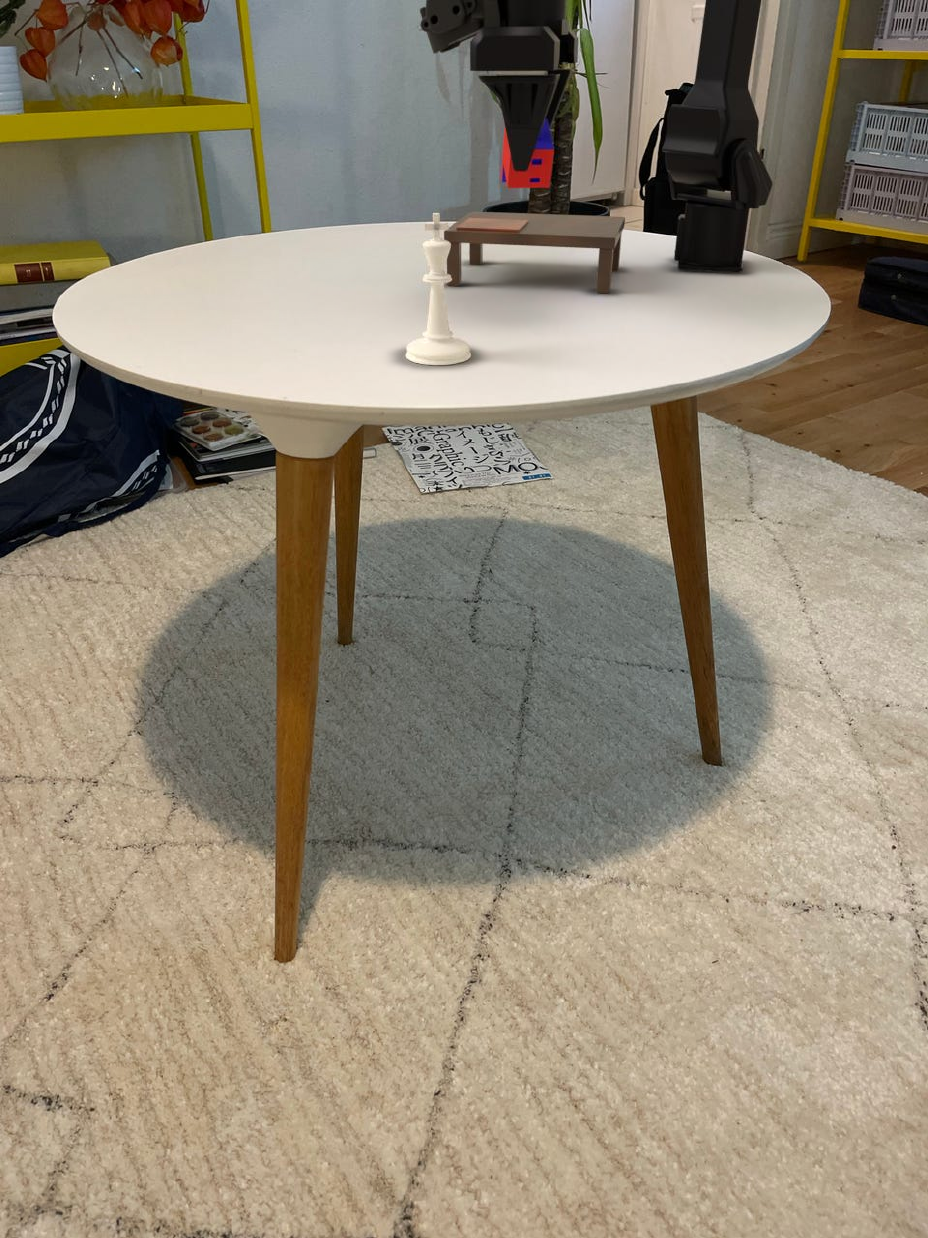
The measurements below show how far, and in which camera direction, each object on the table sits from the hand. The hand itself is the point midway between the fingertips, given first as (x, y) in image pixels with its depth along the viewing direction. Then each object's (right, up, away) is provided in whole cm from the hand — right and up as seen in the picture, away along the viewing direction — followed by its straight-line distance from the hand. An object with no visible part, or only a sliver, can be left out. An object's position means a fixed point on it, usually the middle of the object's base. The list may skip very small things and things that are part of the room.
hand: (526, 166), depth 81 cm
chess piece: (-7, -19, -9) cm, 22 cm away
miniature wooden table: (+2, -4, +15) cm, 15 cm away
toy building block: (0, -1, +1) cm, 2 cm away
